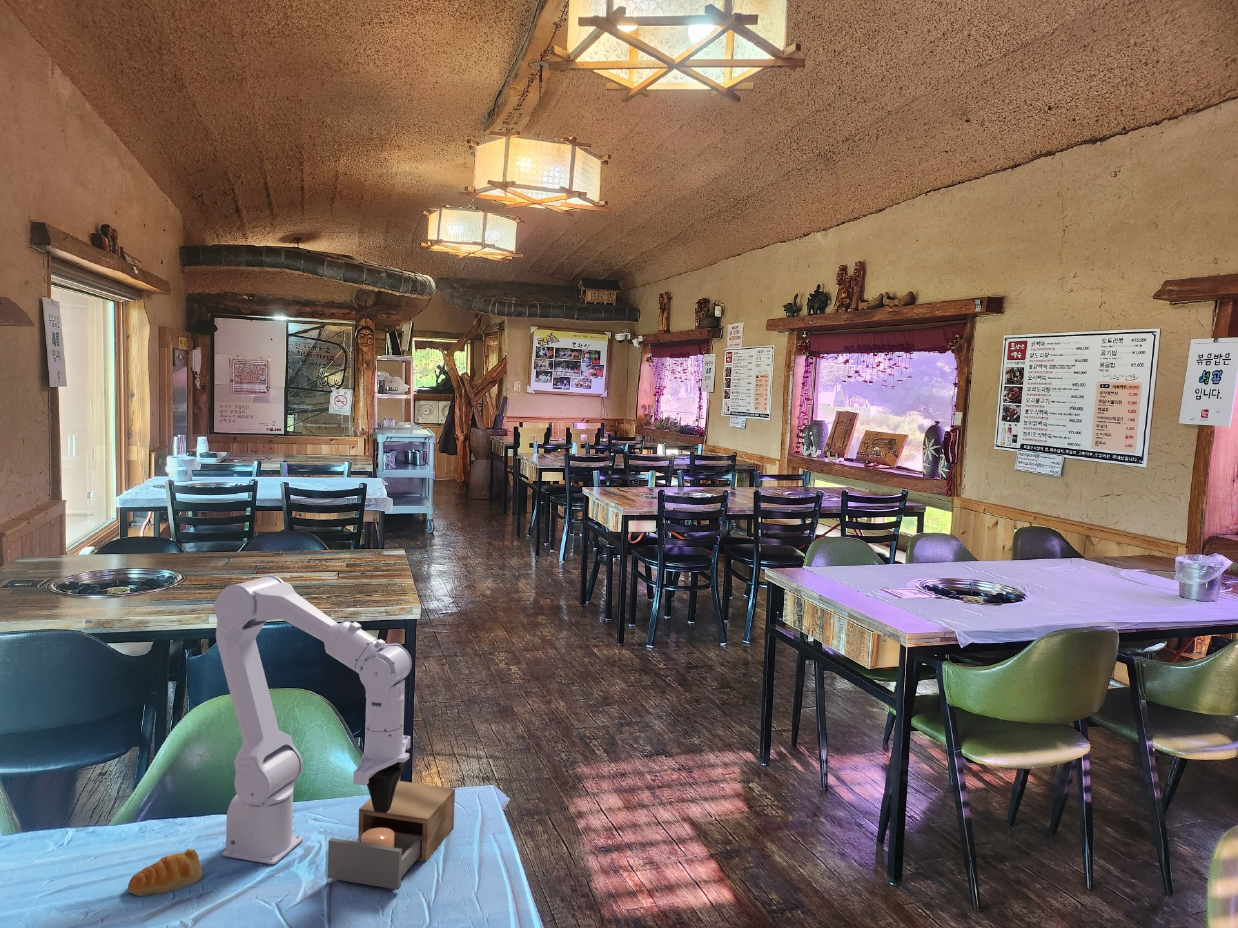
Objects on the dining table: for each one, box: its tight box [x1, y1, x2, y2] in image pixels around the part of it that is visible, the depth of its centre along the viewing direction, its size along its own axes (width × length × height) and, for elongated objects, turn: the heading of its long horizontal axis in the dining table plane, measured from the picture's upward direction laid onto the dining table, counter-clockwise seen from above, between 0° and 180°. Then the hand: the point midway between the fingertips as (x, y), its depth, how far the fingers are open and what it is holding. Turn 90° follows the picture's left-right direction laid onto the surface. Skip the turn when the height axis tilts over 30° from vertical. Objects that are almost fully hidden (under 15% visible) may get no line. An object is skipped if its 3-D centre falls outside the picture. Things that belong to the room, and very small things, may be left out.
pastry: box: [127, 848, 203, 897], centre depth 118 cm, size 9×7×4 cm
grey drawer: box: [327, 828, 422, 890], centre depth 124 cm, size 11×12×6 cm
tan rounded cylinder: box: [361, 828, 394, 848], centre depth 124 cm, size 5×5×4 cm
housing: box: [357, 780, 456, 863], centre depth 133 cm, size 11×12×7 cm
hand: (381, 810), depth 123 cm, fingers closed
